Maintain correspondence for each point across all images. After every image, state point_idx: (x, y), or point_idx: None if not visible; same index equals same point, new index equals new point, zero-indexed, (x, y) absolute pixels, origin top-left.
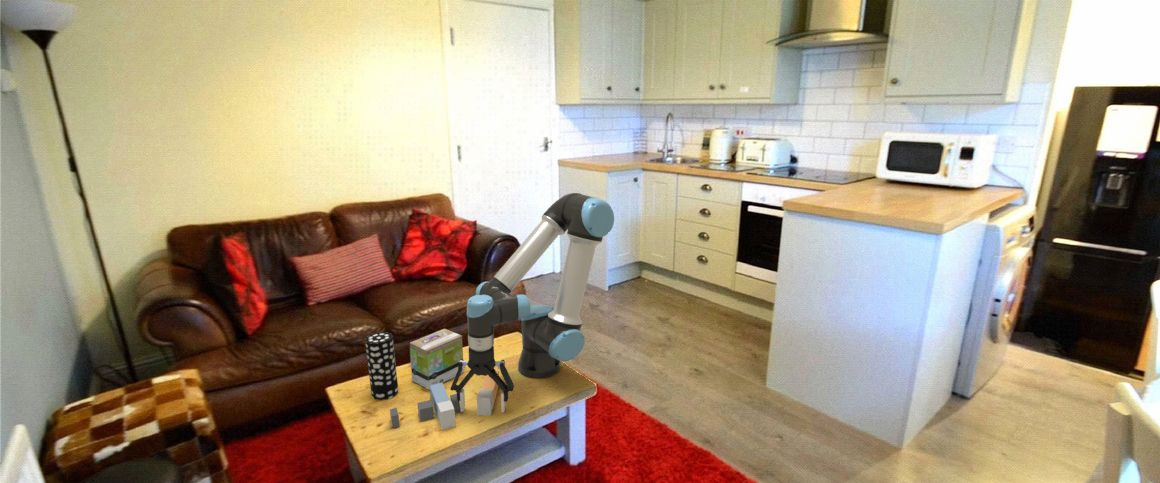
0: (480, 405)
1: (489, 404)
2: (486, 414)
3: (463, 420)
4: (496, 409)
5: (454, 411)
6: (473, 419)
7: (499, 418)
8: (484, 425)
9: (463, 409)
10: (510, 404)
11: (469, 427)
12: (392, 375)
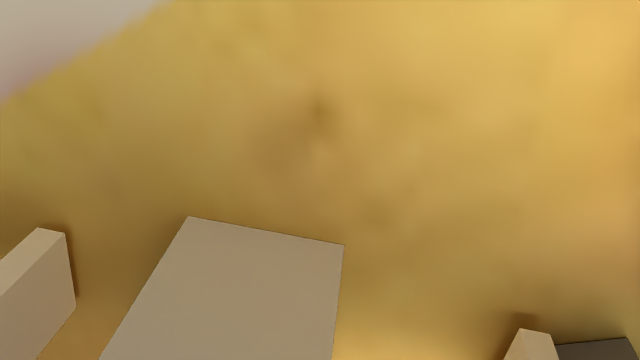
0: (278, 348)
1: (127, 333)
2: (235, 232)
3: (535, 186)
4: None
5: (625, 354)
6: (399, 181)
7: (69, 137)
8: (242, 15)
9: (518, 356)
10: None
11: (471, 2)
12: None
